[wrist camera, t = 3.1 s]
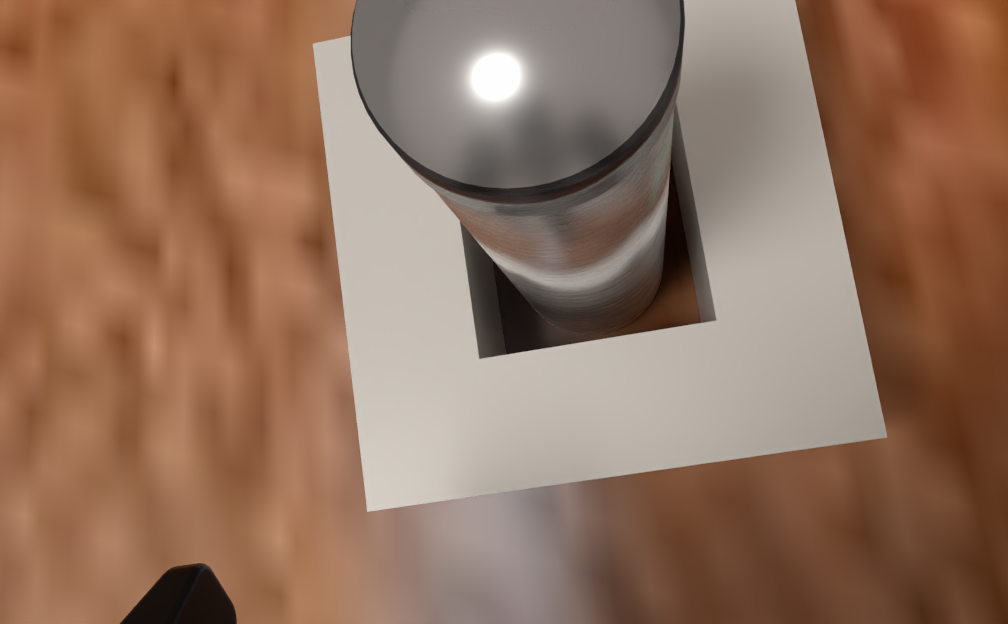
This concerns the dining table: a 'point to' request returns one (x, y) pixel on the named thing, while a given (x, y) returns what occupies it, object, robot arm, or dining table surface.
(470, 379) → the socket block
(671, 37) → the metal cylinder
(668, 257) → the dining table surface
